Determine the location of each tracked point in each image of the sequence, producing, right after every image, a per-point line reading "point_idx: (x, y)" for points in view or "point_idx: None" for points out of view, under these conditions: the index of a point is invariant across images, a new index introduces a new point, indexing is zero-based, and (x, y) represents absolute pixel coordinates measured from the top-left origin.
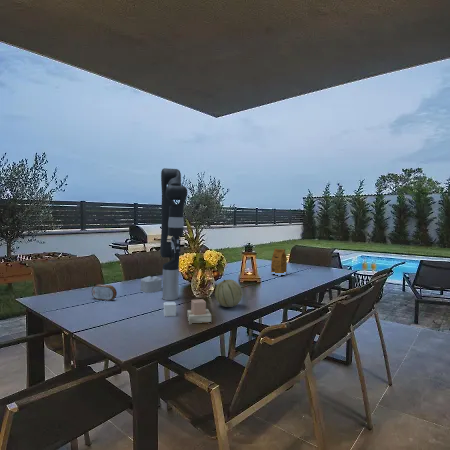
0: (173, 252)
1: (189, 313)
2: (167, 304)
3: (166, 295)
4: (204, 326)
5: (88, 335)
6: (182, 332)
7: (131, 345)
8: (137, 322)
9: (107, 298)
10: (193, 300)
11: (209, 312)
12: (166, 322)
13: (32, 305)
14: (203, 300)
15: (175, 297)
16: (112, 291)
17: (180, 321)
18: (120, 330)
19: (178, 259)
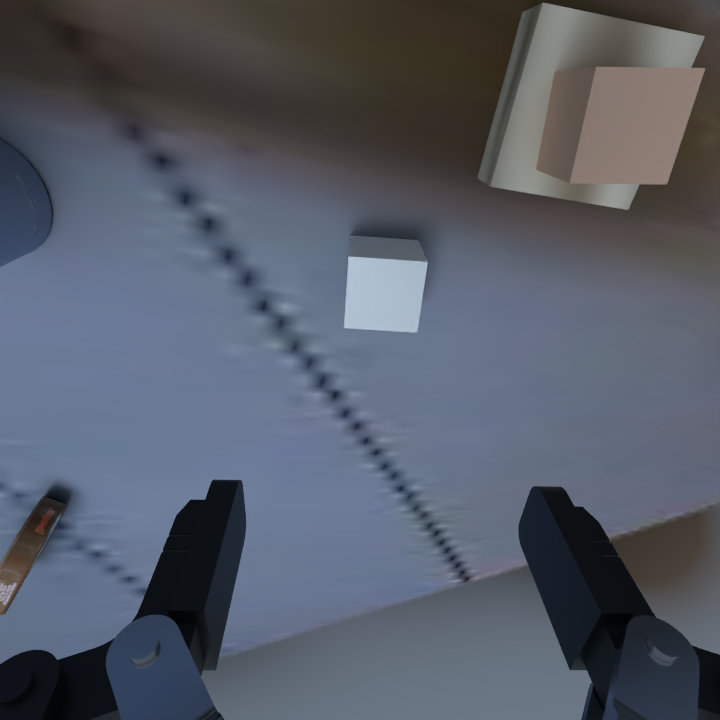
0: (225, 609)
1: (570, 193)
2: (401, 313)
3: (26, 245)
4: (691, 114)
5: (516, 552)
6: (693, 263)
7: (687, 456)
8: (450, 424)
9: (56, 521)
10: (595, 170)
11: (630, 25)
12: (510, 310)
13: None
14: (645, 74)
15: (21, 168)
16: (46, 538)
17: (530, 237)
18: (517, 479)
19: (563, 500)
